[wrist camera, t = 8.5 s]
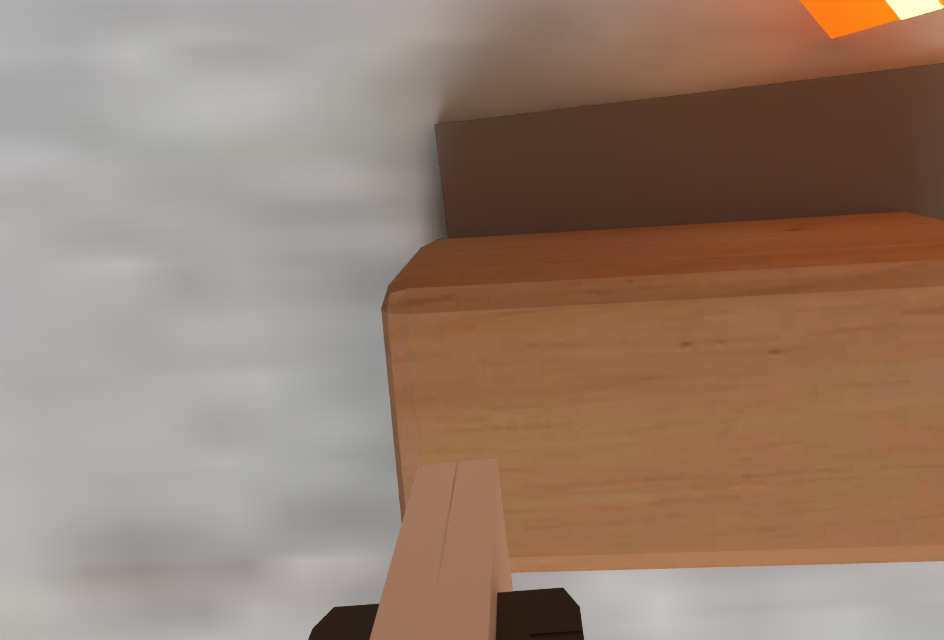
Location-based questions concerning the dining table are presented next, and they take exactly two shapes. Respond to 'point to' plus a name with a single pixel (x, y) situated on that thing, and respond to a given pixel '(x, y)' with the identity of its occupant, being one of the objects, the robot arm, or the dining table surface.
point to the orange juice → (864, 13)
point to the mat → (703, 157)
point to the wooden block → (684, 389)
